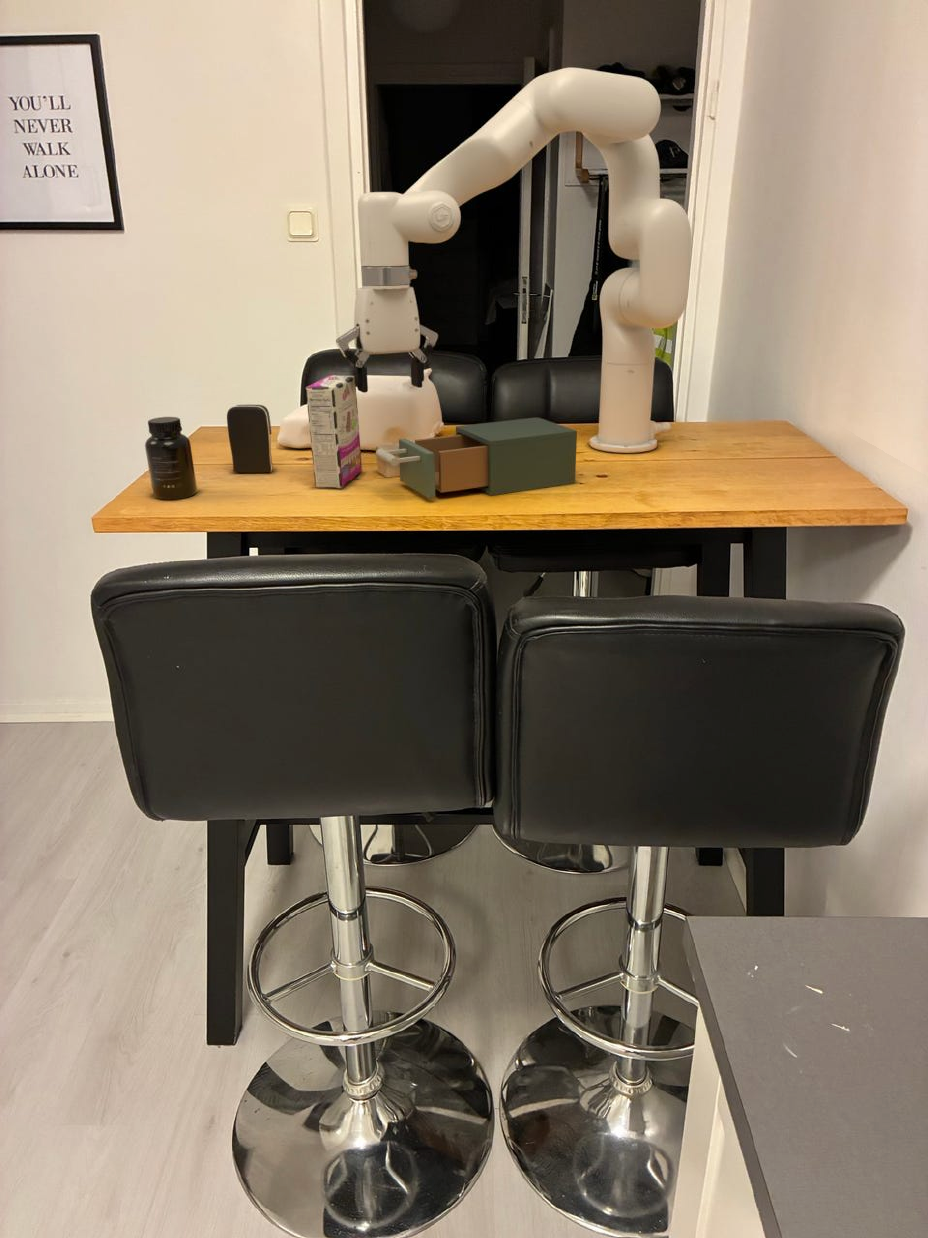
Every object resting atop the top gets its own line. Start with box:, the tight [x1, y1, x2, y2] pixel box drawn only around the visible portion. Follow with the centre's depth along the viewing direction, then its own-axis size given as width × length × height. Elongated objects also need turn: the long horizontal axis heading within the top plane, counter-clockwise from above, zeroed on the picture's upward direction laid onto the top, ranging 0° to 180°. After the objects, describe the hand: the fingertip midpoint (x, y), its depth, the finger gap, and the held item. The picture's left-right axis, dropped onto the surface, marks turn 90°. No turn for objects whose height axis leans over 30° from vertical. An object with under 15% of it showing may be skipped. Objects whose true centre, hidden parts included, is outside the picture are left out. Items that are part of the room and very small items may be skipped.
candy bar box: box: [305, 374, 363, 490], centre depth 148 cm, size 11×5×16 cm, turn 168°
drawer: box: [375, 434, 489, 498], centre depth 143 cm, size 19×11×7 cm, turn 116°
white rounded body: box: [276, 367, 445, 451], centre depth 175 cm, size 19×30×13 cm, turn 79°
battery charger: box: [226, 404, 274, 474], centre depth 155 cm, size 7×4×11 cm, turn 88°
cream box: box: [375, 443, 400, 478], centre depth 154 cm, size 4×4×4 cm
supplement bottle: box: [144, 416, 198, 501], centre depth 142 cm, size 7×7×12 cm
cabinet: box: [455, 417, 578, 497], centre depth 148 cm, size 16×13×9 cm
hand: (390, 388), depth 149 cm, fingers open, 9 cm apart
